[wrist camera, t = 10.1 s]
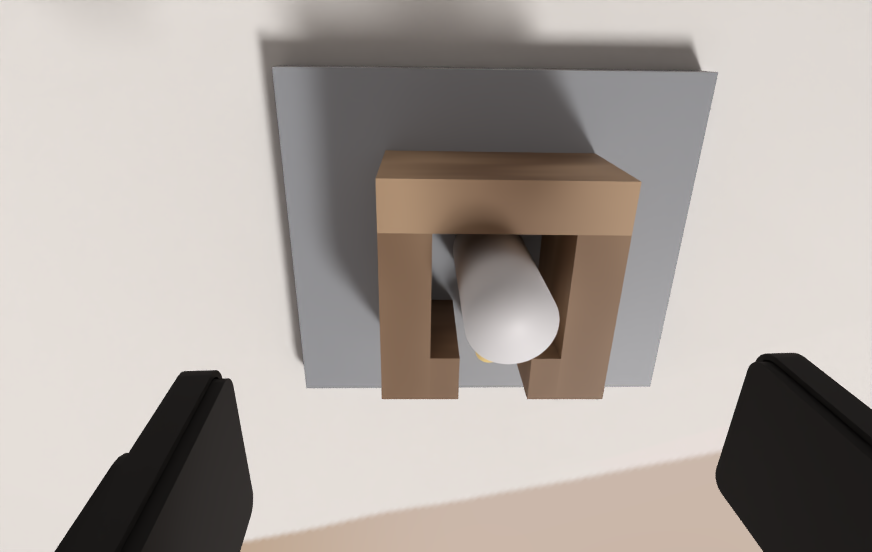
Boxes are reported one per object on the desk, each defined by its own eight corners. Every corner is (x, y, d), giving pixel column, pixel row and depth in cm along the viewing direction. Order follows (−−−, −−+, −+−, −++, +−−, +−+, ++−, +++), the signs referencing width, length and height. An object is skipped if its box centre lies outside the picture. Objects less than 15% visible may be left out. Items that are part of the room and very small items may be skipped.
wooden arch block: (595, 153, 17) (641, 181, 14) (569, 335, 20) (602, 399, 16) (385, 150, 17) (375, 178, 13) (389, 334, 20) (381, 399, 16)
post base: (311, 373, 22) (269, 496, 16) (279, 65, 17) (202, 75, 11) (640, 372, 22) (720, 492, 16) (702, 70, 17) (849, 83, 11)
